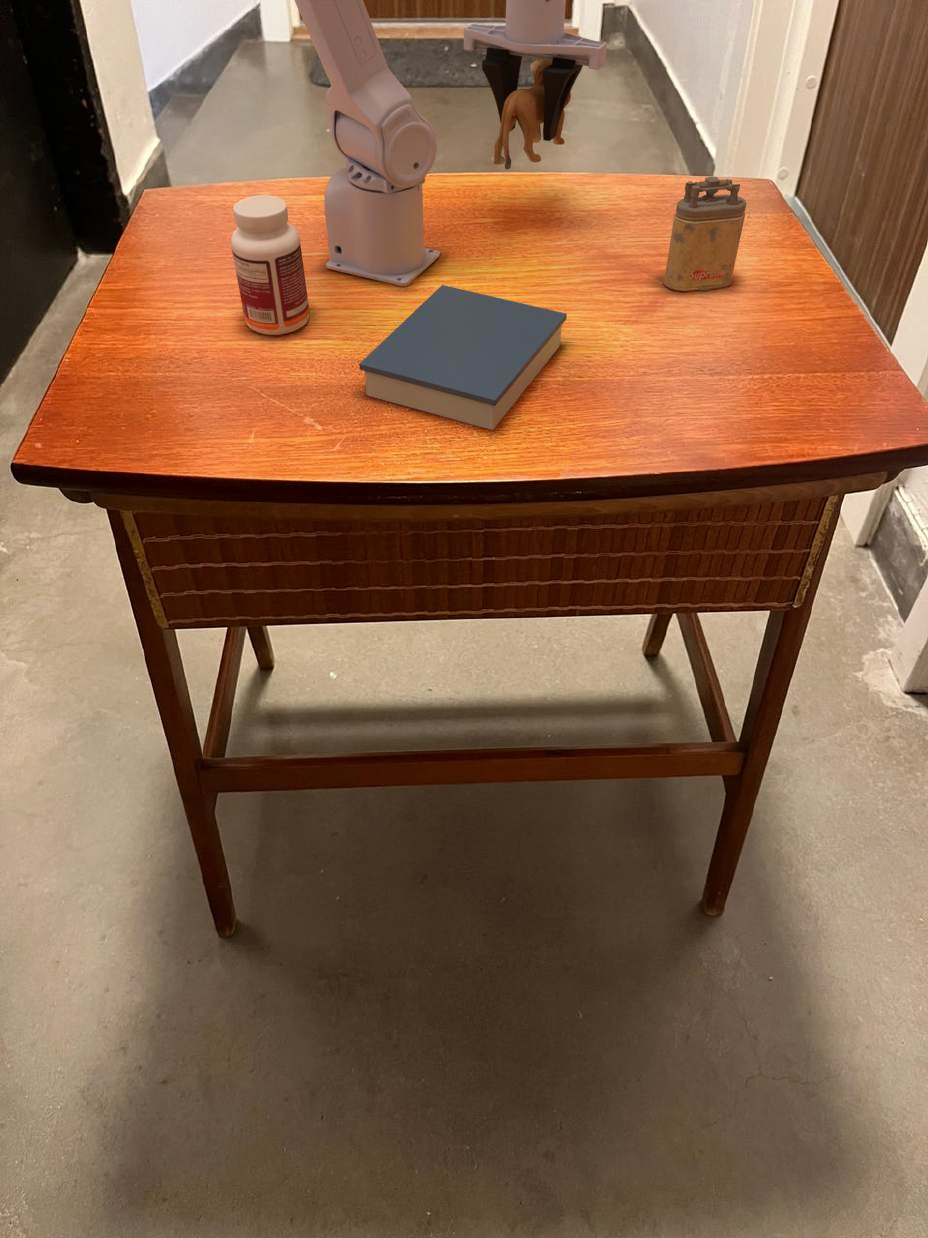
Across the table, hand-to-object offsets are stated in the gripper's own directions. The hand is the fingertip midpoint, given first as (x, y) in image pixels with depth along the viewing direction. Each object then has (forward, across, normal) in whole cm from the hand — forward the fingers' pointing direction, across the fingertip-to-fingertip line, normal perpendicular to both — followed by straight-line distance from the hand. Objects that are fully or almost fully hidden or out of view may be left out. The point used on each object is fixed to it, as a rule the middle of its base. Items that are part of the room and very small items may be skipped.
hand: (529, 133), depth 103 cm
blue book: (+9, -8, +31) cm, 33 cm away
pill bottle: (+10, +12, +31) cm, 35 cm away
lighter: (+9, -22, +6) cm, 24 cm away
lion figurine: (+2, 0, -1) cm, 2 cm away
